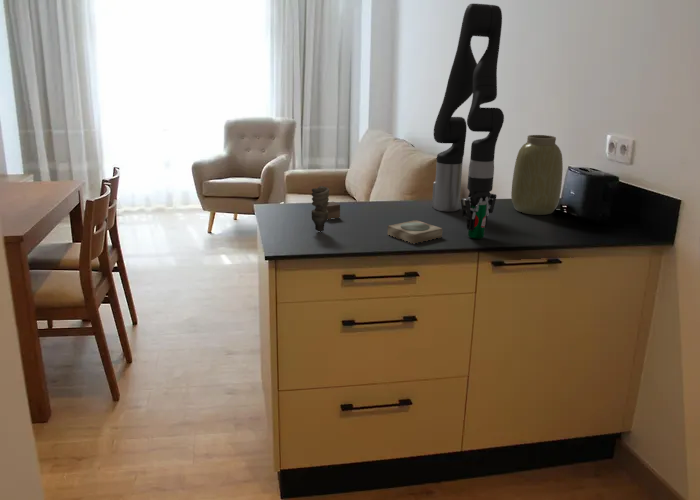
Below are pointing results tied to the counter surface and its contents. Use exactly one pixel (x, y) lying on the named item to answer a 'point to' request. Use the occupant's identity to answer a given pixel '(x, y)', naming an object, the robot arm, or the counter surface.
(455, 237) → the counter surface
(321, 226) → the light bulb
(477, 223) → the soda can
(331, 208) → the walnut cube
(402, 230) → the pedestal
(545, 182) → the vase
